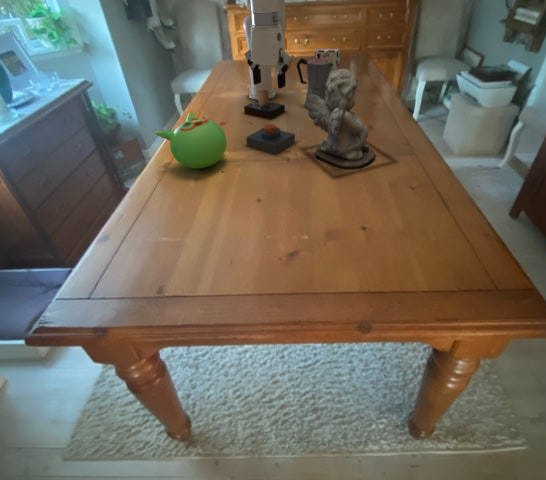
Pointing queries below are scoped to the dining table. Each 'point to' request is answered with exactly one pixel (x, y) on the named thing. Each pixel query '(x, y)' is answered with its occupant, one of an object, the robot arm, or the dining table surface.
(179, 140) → the toy bird
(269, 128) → the release button
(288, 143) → the dark piece
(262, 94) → the tan wooden block
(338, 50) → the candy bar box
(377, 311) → the dining table surface
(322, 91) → the moka pot
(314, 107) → the angel statue
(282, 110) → the panel
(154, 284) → the dining table surface
